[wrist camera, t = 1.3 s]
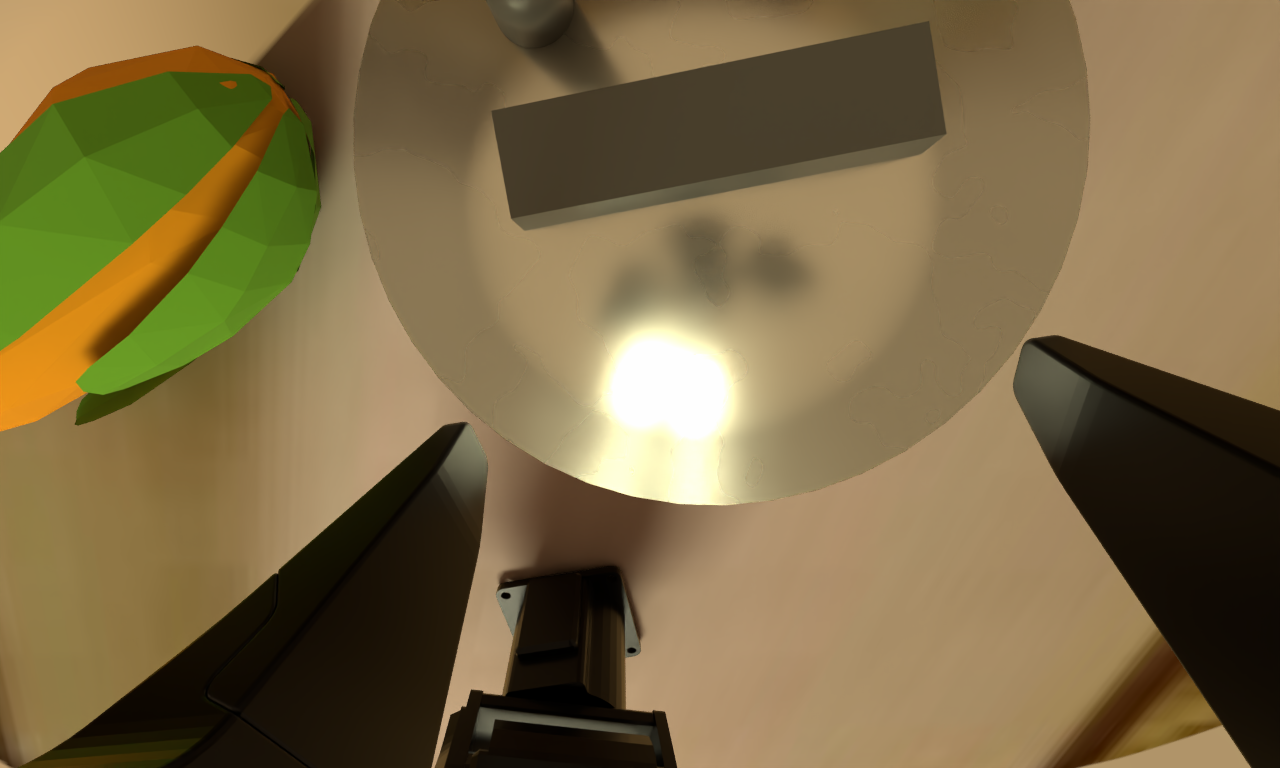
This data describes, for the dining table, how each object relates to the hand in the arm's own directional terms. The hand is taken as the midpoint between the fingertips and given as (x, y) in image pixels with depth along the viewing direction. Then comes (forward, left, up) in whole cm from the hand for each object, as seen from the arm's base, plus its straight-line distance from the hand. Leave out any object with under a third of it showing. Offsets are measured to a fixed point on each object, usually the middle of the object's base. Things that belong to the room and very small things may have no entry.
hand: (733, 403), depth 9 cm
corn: (+2, +19, -14) cm, 24 cm away
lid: (+3, -1, -5) cm, 6 cm away
